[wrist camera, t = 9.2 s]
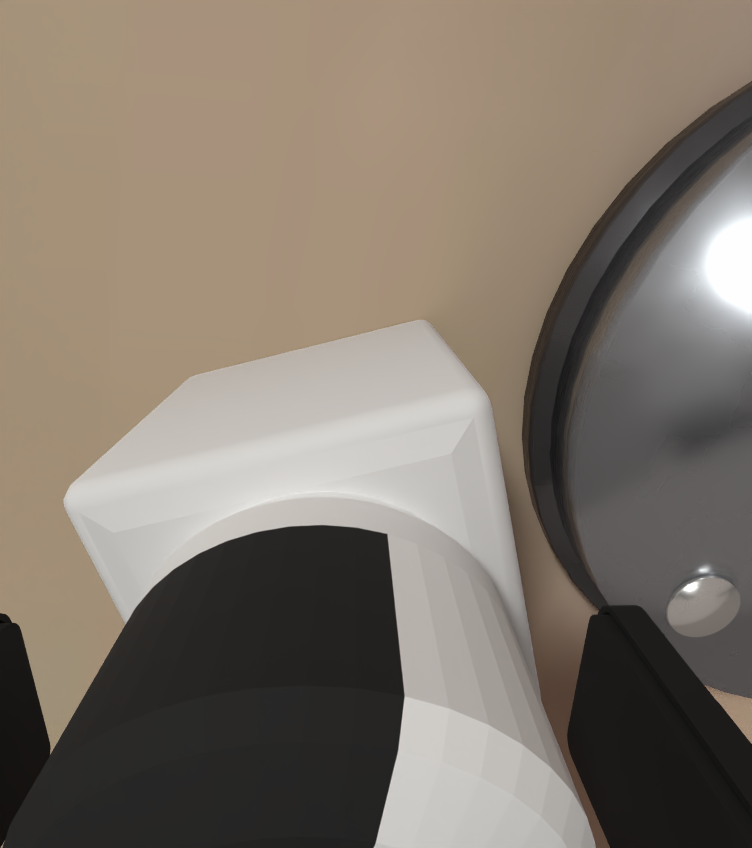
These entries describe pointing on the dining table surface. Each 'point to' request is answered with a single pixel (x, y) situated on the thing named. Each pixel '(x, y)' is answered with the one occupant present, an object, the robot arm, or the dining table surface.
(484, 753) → the medicine bottle
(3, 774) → the robot arm
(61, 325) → the dining table surface
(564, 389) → the disc
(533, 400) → the base
